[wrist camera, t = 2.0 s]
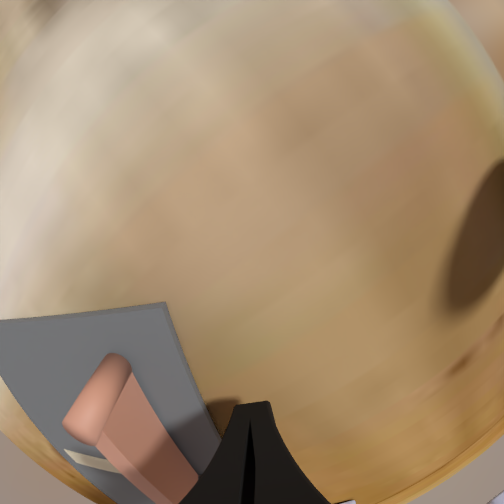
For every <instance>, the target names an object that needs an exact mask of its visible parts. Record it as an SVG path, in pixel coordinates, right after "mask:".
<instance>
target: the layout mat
mask: <svg viewBox="0 0 504 504" xmlns="http://www.w3.org/2000/svg"><path fill="white" fill-rule="evenodd" d="M108 353H116V354H119V355H121V356H123V357H124V358H125V359H126V360H127V361H128V362H129V363H130V365H131V367H132V372H133V374H134V376H135V378H136V380H137V382H138V384H139V386H140V388H141V389H142V391H143V393H144V395H145V397H146V398H147V400H148V402H149V403H150V405H151V407H152V409H153V410H154V412H155V414H156V415H157V417H158V418H159V420H160V422H161V423H162V425H163V426H164V428H165V429H166V431H167V432H168V434H169V435H170V437H171V438H172V440H173V441H174V443H175V444H176V446H177V447H178V449H179V450H180V451H181V453H182V454H183V456H184V457H185V458H186V460H187V461H188V462H189V464H190V465H191V466H192V468H193V469H194V470H195V471H196V473H197V474H198V476H202V474H203V473H204V471H205V469H206V468H207V466H208V465H209V463H210V461H211V459H212V458H213V456H214V454H215V452H216V451H217V449H218V447H219V445H220V442H221V440H222V439H221V437H220V435H219V433H218V431H217V429H216V427H215V425H214V423H213V421H212V419H211V417H210V415H209V412H208V410H207V408H206V406H205V404H204V401H203V399H202V397H201V395H200V392H199V390H198V388H197V385H196V383H195V381H194V378H193V376H192V373H191V371H190V368H189V366H188V363H187V361H186V358H185V356H184V353H183V350H182V348H181V345H180V342H179V340H178V337H177V334H176V332H175V329H174V326H173V323H172V320H171V317H170V314H169V311H168V308H167V305H166V302H161V303H154V304H147V305H139V306H132V307H124V308H116V309H108V310H100V311H92V312H83V313H74V314H64V315H54V316H44V317H33V318H21V319H8V320H0V376H1V377H2V379H3V380H4V382H5V384H6V385H7V387H8V388H9V390H10V391H11V393H12V394H13V396H14V397H15V399H16V400H17V402H18V403H19V404H20V406H21V407H22V409H23V410H24V411H25V413H26V414H27V415H28V417H29V418H30V419H31V420H32V422H33V423H34V424H35V425H36V427H37V428H38V429H39V430H40V432H41V433H42V434H43V435H44V436H45V437H46V439H47V440H48V441H49V442H50V443H51V444H52V445H53V446H54V447H55V448H56V450H57V451H58V452H59V453H60V454H61V455H62V456H63V457H64V458H65V459H66V460H67V461H68V462H69V463H70V464H71V465H72V466H73V467H74V468H75V469H76V470H77V471H79V472H80V473H81V474H82V475H83V476H84V477H85V478H86V479H87V480H89V481H90V482H91V483H92V484H93V485H94V486H96V487H97V488H98V489H99V490H100V491H102V492H103V493H104V494H105V495H107V496H108V497H109V498H111V499H112V500H113V501H115V502H116V503H117V504H156V503H155V502H153V501H152V500H151V499H150V498H148V497H147V496H146V495H145V494H144V493H142V492H141V491H140V490H139V489H138V488H137V487H136V486H134V485H133V484H132V483H131V482H130V481H129V480H128V479H127V478H126V477H125V476H124V475H122V474H121V473H120V472H119V471H118V470H117V469H116V468H115V467H114V466H113V465H112V464H111V463H110V462H109V461H108V460H107V458H106V457H105V456H104V455H103V454H102V453H101V452H100V451H99V450H98V449H97V448H96V447H95V446H89V445H86V444H83V443H81V442H79V441H78V440H76V439H75V438H73V437H72V436H71V435H70V434H69V433H68V432H67V431H66V430H65V429H64V427H63V425H62V421H63V419H64V418H65V416H66V415H67V413H68V411H69V410H70V408H71V407H72V405H73V403H74V402H75V400H76V399H77V397H78V396H79V394H80V393H81V391H82V390H83V388H84V387H85V385H86V383H87V382H88V380H89V379H90V377H91V376H92V375H93V373H94V372H95V370H96V369H97V367H98V366H99V364H100V363H101V361H102V360H103V358H104V357H105V356H106V355H107V354H108Z"/></svg>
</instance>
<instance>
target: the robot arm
mask: <svg viewBox="0 0 504 504" xmlns="http://www.w3.org/2000/svg"><path fill="white" fill-rule="evenodd" d="M178 504H331V503H329V502H328V501H327V500H326V498H325V497H324V496H323V495H322V494H321V493H320V492H319V491H318V490H317V489H316V488H315V487H314V486H313V484H312V483H311V482H310V481H309V479H308V478H307V477H306V476H305V474H304V473H303V472H302V470H301V469H300V468H299V466H298V465H297V463H296V462H295V460H294V459H293V457H292V455H291V454H290V452H289V451H288V449H287V447H286V445H285V443H284V442H283V440H282V438H281V436H280V434H279V431H278V429H277V427H276V424H275V420H274V416H273V412H272V408H271V404H270V402H268V401H262V402H255V403H248V404H240V405H236V406H235V407H234V409H233V413H232V416H231V419H230V421H229V424H228V427H227V429H226V431H225V434H224V436H223V438H222V440H221V442H220V445H219V447H218V449H217V451H216V452H215V454H214V456H213V458H212V459H211V461H210V463H209V465H208V466H207V468H206V469H205V471H204V473H203V474H202V476H201V477H200V478H199V480H198V481H197V482H196V484H195V485H194V486H193V487H192V489H191V490H190V491H189V492H188V494H187V495H186V496H185V497H184V498H183V499H182V500H181V501H180V502H179V503H178ZM341 504H356V502H355V500H352V501H348V502H344V503H341ZM487 504H504V490H503V491H502V492H501V493H499V494H498V495H497V496H496V497H494V498H493V499H492V500H490V501H489V502H488V503H487Z"/></svg>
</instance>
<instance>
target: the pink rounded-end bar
mask: <svg viewBox="0 0 504 504" xmlns="http://www.w3.org/2000/svg"><path fill="white" fill-rule="evenodd" d="M62 425H63V427H64V429H65V430H66V431H67V432H68V433H69V434H70V435H71V436H72V437H73V438H75V439H76V440H78V441H79V442H81V443H83V444H86V445H89V446H95V447H96V448H97V449H98V450H99V451H100V452H101V453H102V454H103V455H104V456H105V457H106V458H107V460H108V461H109V462H110V463H111V464H112V465H113V466H114V467H115V468H116V469H117V470H118V471H119V472H120V473H121V474H122V475H124V476H125V477H126V478H127V479H128V480H129V481H130V482H131V483H132V484H133V485H134V486H136V487H137V488H138V489H139V490H140V491H141V492H142V493H144V494H145V495H146V496H147V497H148V498H150V499H151V500H152V501H153V502H155V503H156V504H178V503H179V502H180V501H181V500H182V499H183V498H184V497H185V496H186V495H187V494H188V492H189V491H190V490H191V489H192V487H193V486H194V485H195V484H196V482H197V481H198V480H199V478H200V477H201V476H198V474H197V473H196V471H195V470H194V469H193V468H192V466H191V465H190V464H189V462H188V461H187V460H186V458H185V457H184V456H183V454H182V453H181V451H180V450H179V449H178V447H177V446H176V444H175V443H174V441H173V440H172V438H171V437H170V435H169V434H168V432H167V431H166V429H165V428H164V426H163V425H162V423H161V422H160V420H159V418H158V417H157V415H156V414H155V412H154V410H153V409H152V407H151V405H150V403H149V402H148V400H147V398H146V397H145V395H144V393H143V391H142V389H141V388H140V386H139V384H138V382H137V380H136V378H135V376H134V374H133V372H132V367H131V365H130V363H129V362H128V361H127V360H126V359H125V358H124V357H123V356H121V355H119V354H116V353H108V354H107V355H106V356H105V357H104V358H103V360H102V361H101V363H100V364H99V366H98V367H97V369H96V370H95V372H94V373H93V375H92V376H91V377H90V379H89V380H88V382H87V383H86V385H85V387H84V388H83V390H82V391H81V393H80V394H79V396H78V397H77V399H76V400H75V402H74V403H73V405H72V407H71V408H70V410H69V411H68V413H67V415H66V416H65V418H64V419H63V421H62Z"/></svg>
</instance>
